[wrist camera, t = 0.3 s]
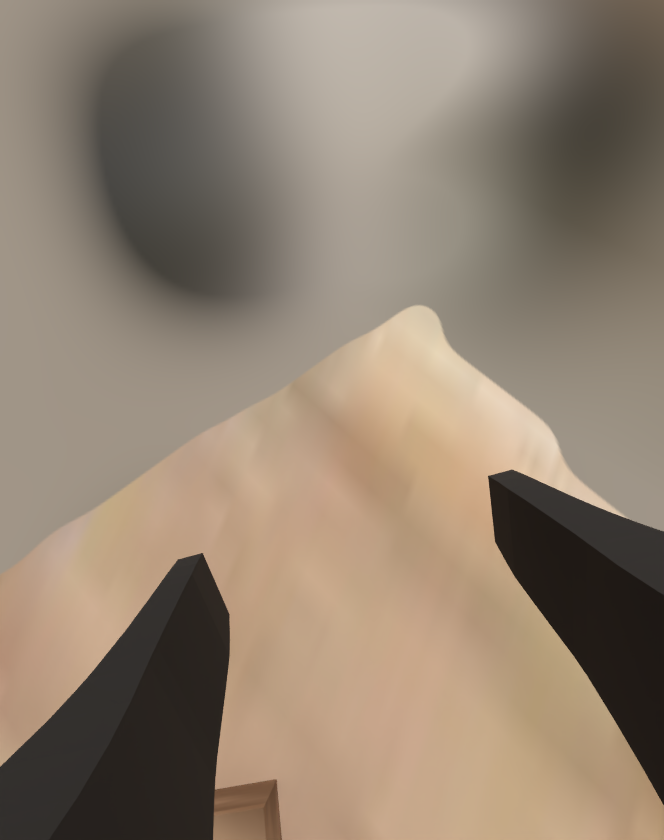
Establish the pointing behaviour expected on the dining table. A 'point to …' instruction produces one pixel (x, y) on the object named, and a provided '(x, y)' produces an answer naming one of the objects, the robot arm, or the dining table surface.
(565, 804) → the dining table surface
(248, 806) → the cabinet
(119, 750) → the robot arm
